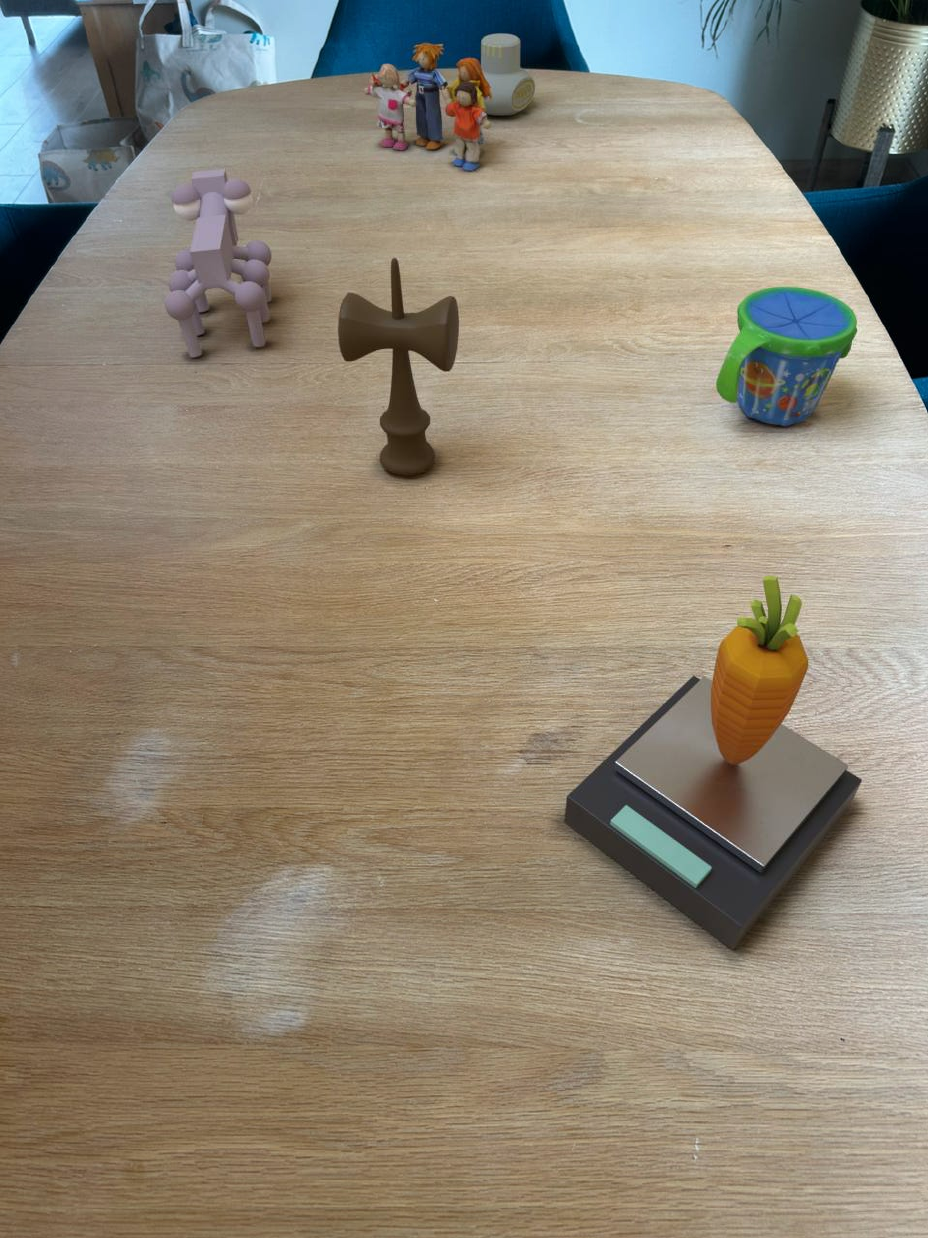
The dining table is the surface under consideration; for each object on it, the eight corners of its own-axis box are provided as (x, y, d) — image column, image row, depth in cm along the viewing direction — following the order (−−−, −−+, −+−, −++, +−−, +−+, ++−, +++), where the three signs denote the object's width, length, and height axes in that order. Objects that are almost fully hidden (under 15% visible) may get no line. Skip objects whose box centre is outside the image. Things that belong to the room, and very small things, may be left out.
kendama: (453, 487, 90) (448, 279, 76) (349, 478, 91) (325, 271, 77) (463, 448, 94) (460, 243, 80) (364, 440, 96) (343, 237, 81)
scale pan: (702, 683, 69) (704, 675, 69) (845, 772, 64) (849, 765, 63) (613, 769, 64) (614, 761, 64) (761, 873, 59) (763, 866, 59)
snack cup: (802, 361, 104) (826, 269, 97) (873, 413, 98) (904, 318, 90) (677, 400, 100) (693, 306, 92) (743, 457, 93) (765, 360, 86)
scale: (687, 702, 73) (694, 670, 70) (850, 805, 66) (864, 775, 64) (563, 822, 66) (566, 791, 63) (732, 951, 59) (743, 923, 57)
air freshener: (504, 126, 151) (505, 53, 144) (458, 115, 155) (457, 44, 147) (540, 104, 158) (543, 33, 151) (495, 94, 161) (496, 24, 154)
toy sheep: (192, 273, 120) (167, 156, 110) (281, 268, 120) (264, 151, 111) (174, 361, 106) (143, 236, 96) (275, 355, 106) (254, 231, 97)
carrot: (765, 803, 62) (825, 637, 51) (684, 781, 63) (727, 614, 52) (776, 742, 65) (835, 574, 54) (700, 722, 66) (742, 553, 55)
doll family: (364, 143, 147) (356, 44, 138) (403, 123, 153) (398, 26, 143) (483, 175, 139) (483, 71, 129) (520, 152, 144) (523, 51, 135)
